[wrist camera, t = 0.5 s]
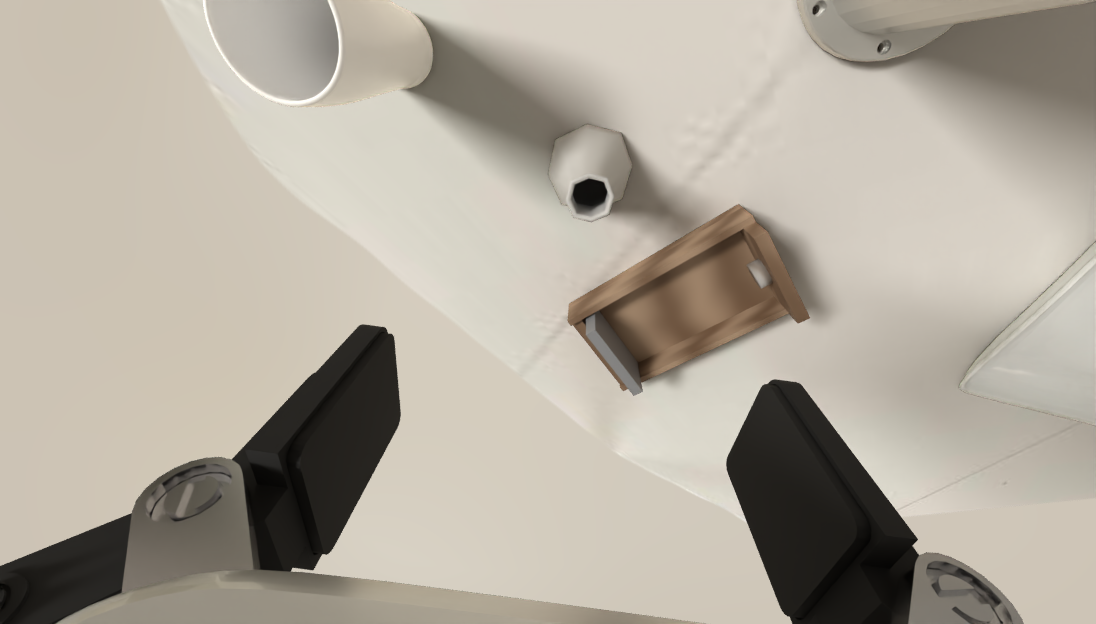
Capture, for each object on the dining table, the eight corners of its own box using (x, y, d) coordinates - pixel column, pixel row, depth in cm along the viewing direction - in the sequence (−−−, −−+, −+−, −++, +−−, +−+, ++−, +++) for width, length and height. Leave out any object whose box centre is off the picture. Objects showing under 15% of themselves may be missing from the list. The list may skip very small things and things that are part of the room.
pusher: (594, 304, 40) (595, 329, 36) (637, 362, 43) (642, 391, 39) (586, 309, 40) (585, 335, 36) (629, 366, 43) (633, 395, 39)
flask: (632, 207, 36) (646, 246, 28) (552, 214, 37) (541, 254, 28) (631, 118, 33) (647, 132, 24) (543, 128, 34) (528, 145, 25)
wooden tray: (738, 204, 35) (764, 225, 30) (782, 290, 39) (812, 323, 34) (569, 303, 42) (566, 335, 36) (620, 370, 45) (625, 407, 40)
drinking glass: (366, 94, 33) (226, 103, 20) (352, -9, 30) (174, -77, 17) (447, 101, 33) (357, 115, 20) (442, -2, 30) (329, -66, 17)
